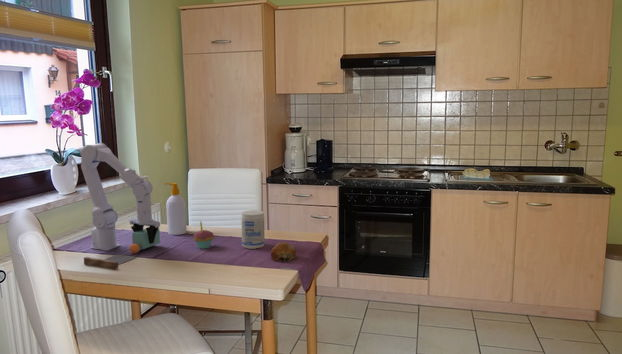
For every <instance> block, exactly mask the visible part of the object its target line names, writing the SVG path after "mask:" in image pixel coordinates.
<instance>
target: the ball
mask: <svg viewBox="0 0 622 354" xmlns="http://www.w3.org/2000/svg"><path fill="white" fill-rule="evenodd" d="M128 248H129V249H128V250H129V253H131V254H137V253H138V252H139V251H140V247H139V245H138V244H133V243H132V244H131V245H130V246H129V247H128Z"/></svg>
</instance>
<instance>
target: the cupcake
mask: <svg viewBox="0 0 622 354" xmlns="http://www.w3.org/2000/svg"><path fill="white" fill-rule="evenodd" d="M199 225H200V230H199V231H197V232H195V233H194V234H193V240H194V241H195V243H196V245H197V248H199V249H208V248H211V243H212V241H213V240H214V238H215V236H214V233H213V232H212V231H210V230H206V229H204V230H203V222H202V220H200V222H199Z"/></svg>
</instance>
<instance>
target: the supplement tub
mask: <svg viewBox="0 0 622 354" xmlns="http://www.w3.org/2000/svg"><path fill="white" fill-rule="evenodd" d="M241 246H242V247H243V248H245V249H248V250H249V249H250V250H251V249H252V250H257V249H260V248H263V247H264V246H265V212H264V211H263V210H256V209H255V210H253V209H252V210H245V211H242V212H241ZM256 248H257V249H256Z"/></svg>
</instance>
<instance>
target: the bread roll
mask: <svg viewBox="0 0 622 354" xmlns="http://www.w3.org/2000/svg"><path fill="white" fill-rule="evenodd" d="M270 257H271V260H272V261H273V262H279V263H280V262H281V263H284V262H285V263H286V262H290V261H293V260H295V259H296V257H297V250H296V248H295V247H294V246H293V244H290V243H288V242H278V243H277V244H275V245H274V247H272V248H271V251H270Z"/></svg>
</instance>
